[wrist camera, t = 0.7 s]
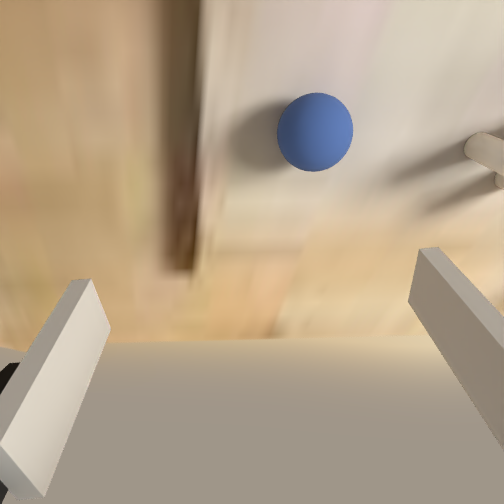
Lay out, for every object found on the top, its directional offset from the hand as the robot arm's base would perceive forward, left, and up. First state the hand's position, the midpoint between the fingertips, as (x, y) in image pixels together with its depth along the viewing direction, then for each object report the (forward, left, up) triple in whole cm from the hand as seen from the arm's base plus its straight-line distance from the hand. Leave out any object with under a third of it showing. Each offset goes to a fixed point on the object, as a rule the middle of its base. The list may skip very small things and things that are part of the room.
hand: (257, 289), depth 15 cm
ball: (+2, +6, -18) cm, 18 cm away
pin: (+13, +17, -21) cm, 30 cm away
